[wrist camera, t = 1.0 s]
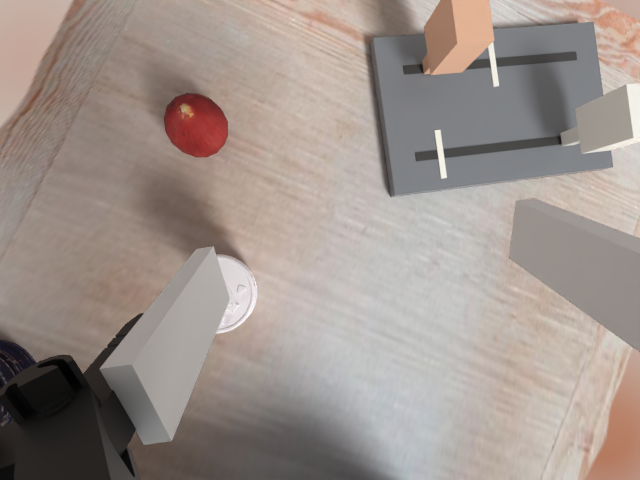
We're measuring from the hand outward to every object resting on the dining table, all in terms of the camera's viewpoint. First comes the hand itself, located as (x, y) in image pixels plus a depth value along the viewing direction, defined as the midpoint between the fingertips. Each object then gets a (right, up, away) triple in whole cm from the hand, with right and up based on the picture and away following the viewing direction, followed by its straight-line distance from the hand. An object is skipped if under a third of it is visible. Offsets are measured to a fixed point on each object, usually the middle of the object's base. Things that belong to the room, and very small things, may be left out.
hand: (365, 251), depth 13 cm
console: (+19, +17, +24) cm, 34 cm away
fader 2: (+28, +13, +23) cm, 38 cm away
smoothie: (-11, -4, +20) cm, 24 cm away
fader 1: (+11, +20, +21) cm, 31 cm away
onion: (-15, +12, +20) cm, 28 cm away
